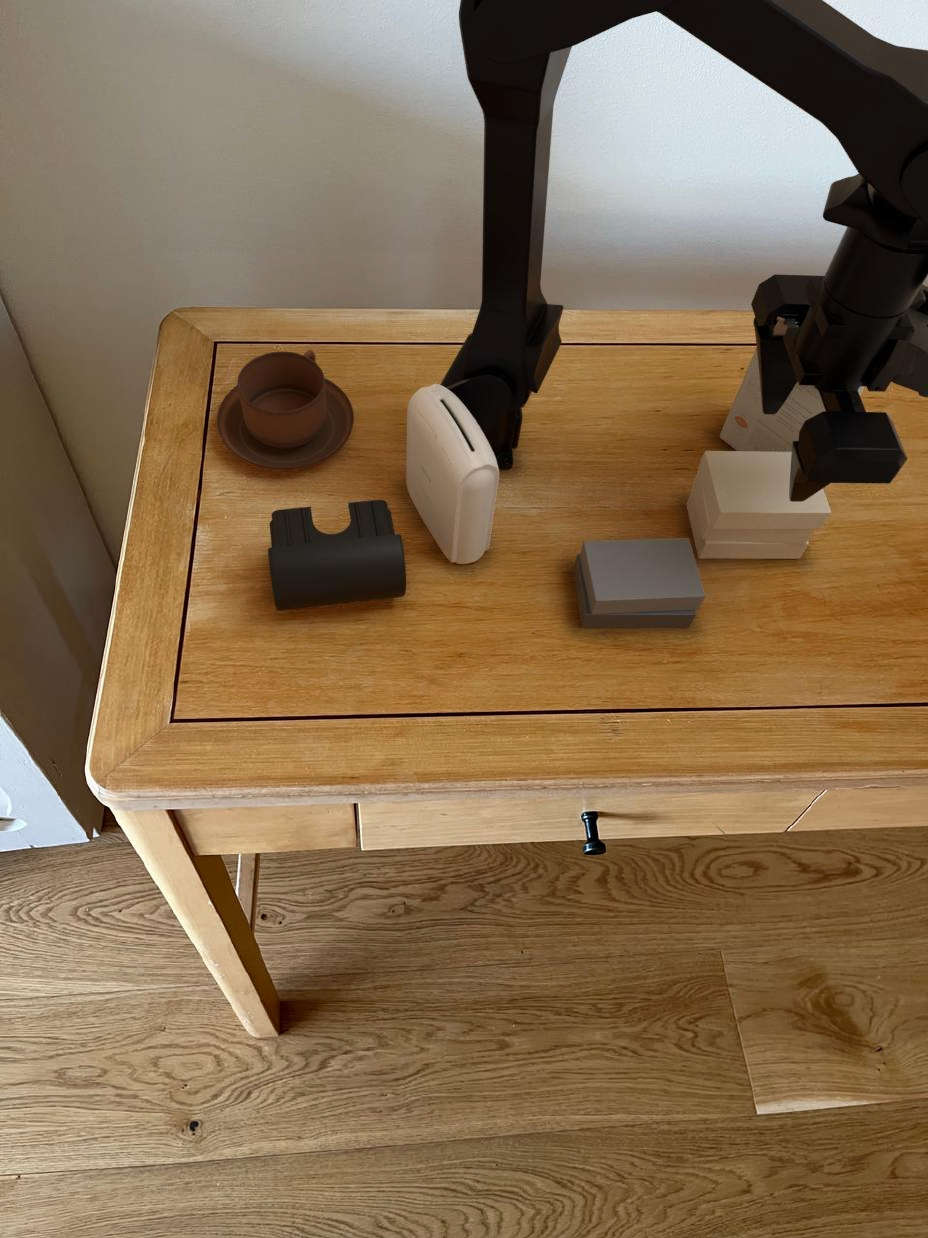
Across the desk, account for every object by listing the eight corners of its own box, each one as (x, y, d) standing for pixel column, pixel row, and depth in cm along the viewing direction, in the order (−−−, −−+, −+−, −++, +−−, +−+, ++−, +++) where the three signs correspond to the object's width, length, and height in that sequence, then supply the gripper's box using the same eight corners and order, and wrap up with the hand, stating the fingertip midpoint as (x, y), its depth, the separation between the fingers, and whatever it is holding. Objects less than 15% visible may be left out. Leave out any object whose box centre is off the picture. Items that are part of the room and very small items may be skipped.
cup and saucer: (229, 381, 87) (220, 328, 82) (358, 389, 88) (356, 337, 82) (210, 479, 80) (198, 428, 75) (349, 486, 81) (347, 436, 76)
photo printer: (398, 485, 82) (400, 378, 71) (442, 471, 83) (451, 364, 72) (449, 573, 77) (458, 472, 66) (495, 556, 78) (511, 455, 68)
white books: (694, 559, 79) (709, 527, 76) (681, 501, 83) (695, 468, 79) (800, 560, 80) (820, 528, 76) (782, 502, 84) (801, 469, 80)
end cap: (279, 631, 73) (270, 581, 67) (272, 558, 76) (263, 505, 71) (405, 615, 74) (407, 566, 69) (393, 545, 78) (393, 492, 72)
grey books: (580, 628, 75) (590, 600, 71) (572, 565, 78) (580, 536, 75) (692, 628, 75) (707, 600, 72) (679, 566, 79) (692, 537, 75)
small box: (825, 459, 87) (888, 350, 76) (782, 490, 84) (840, 382, 73) (760, 408, 90) (811, 296, 79) (716, 436, 87) (763, 325, 77)
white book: (712, 529, 76) (720, 512, 74) (697, 468, 79) (704, 450, 77) (821, 529, 76) (831, 512, 74) (801, 469, 80) (811, 451, 78)
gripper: (1039, 393, 56) (916, 550, 69) (939, 206, 66) (848, 374, 79) (861, 390, 55) (770, 549, 68) (787, 201, 65) (721, 371, 78)
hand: (782, 454), depth 73 cm, fingers open, 9 cm apart
